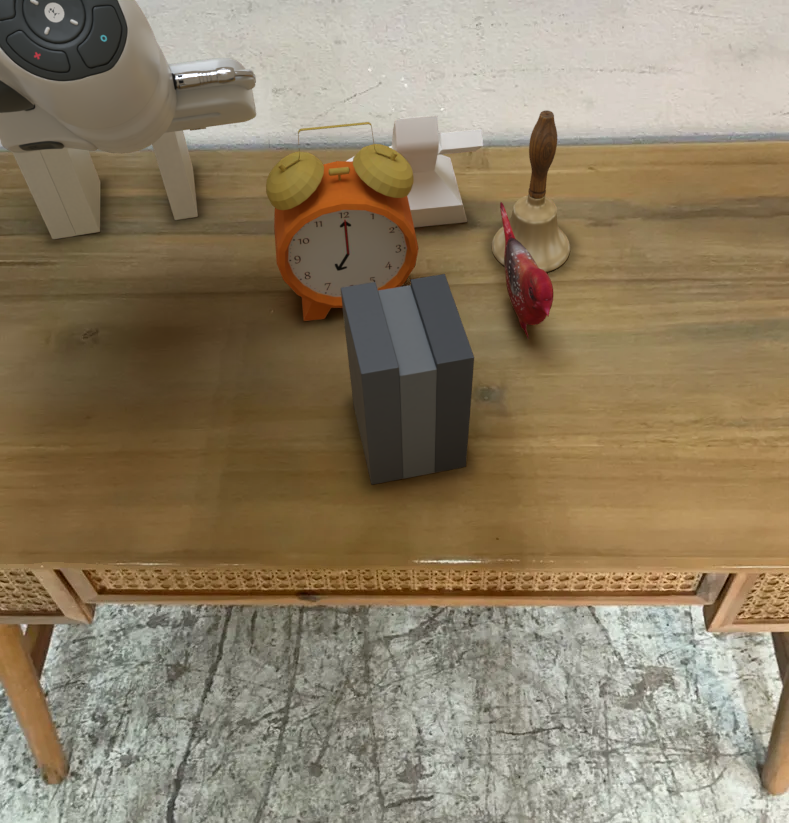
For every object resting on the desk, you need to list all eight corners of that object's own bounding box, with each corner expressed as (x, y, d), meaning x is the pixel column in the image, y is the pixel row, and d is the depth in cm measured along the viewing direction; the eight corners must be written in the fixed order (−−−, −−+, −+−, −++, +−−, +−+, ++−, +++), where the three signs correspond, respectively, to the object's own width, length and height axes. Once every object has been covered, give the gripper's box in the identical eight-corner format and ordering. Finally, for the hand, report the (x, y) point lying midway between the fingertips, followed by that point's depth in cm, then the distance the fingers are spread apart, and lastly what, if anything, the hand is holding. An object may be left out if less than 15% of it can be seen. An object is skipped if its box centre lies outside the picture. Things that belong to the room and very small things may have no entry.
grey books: (371, 485, 72) (361, 374, 60) (353, 404, 77) (340, 287, 65) (466, 466, 72) (474, 353, 60) (441, 388, 78) (444, 269, 66)
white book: (174, 220, 93) (141, 109, 82) (171, 171, 98) (139, 60, 87) (198, 216, 93) (167, 105, 82) (193, 168, 99) (163, 57, 88)
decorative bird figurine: (523, 375, 78) (534, 300, 70) (483, 249, 89) (489, 171, 81) (553, 371, 79) (568, 296, 71) (509, 246, 89) (518, 168, 81)
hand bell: (475, 250, 89) (484, 118, 76) (523, 211, 92) (539, 79, 80) (538, 286, 85) (558, 154, 73) (585, 245, 89) (612, 112, 76)
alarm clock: (288, 327, 83) (255, 158, 67) (285, 284, 87) (254, 114, 71) (419, 312, 84) (419, 141, 68) (411, 270, 87) (408, 98, 71)
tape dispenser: (346, 192, 95) (336, 82, 84) (467, 180, 96) (472, 69, 85) (352, 241, 90) (343, 131, 79) (480, 228, 91) (488, 117, 80)
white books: (52, 239, 92) (-4, 119, 80) (55, 189, 97) (3, 69, 85) (100, 232, 92) (52, 112, 80) (100, 182, 98) (55, 62, 86)
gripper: (246, 24, 61) (253, 76, 75) (-41, 60, 59) (19, 106, 73) (262, 112, 62) (265, 147, 76) (-20, 151, 60) (35, 180, 74)
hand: (143, 127), depth 74 cm, fingers open, 8 cm apart
